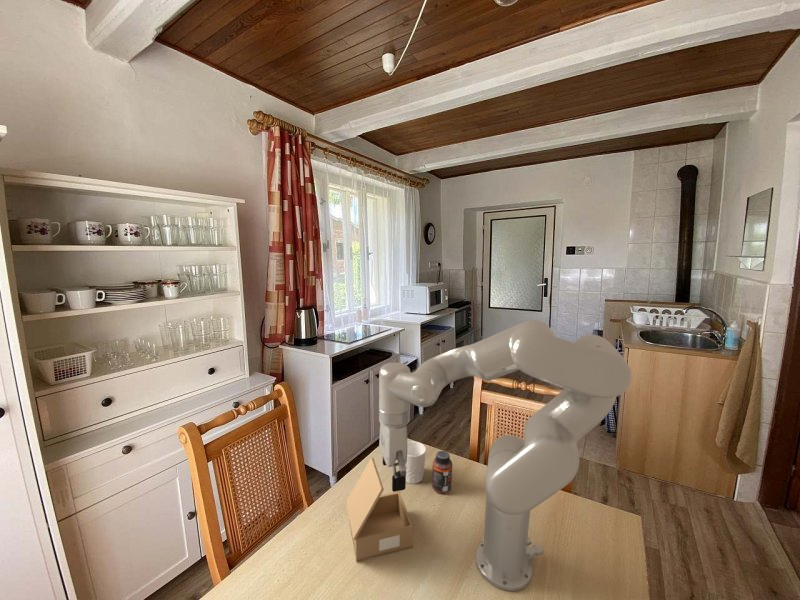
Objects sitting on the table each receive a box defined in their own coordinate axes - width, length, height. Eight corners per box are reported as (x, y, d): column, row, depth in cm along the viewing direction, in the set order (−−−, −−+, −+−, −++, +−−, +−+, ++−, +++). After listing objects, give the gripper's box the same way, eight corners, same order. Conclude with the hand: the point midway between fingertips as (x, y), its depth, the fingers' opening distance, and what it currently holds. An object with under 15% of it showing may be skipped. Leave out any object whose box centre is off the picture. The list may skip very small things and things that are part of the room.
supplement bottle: (450, 496, 101) (452, 462, 99) (430, 493, 102) (431, 459, 100) (451, 482, 106) (453, 449, 104) (432, 479, 107) (433, 447, 105)
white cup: (399, 469, 112) (399, 441, 110) (422, 467, 113) (423, 440, 111) (401, 486, 104) (402, 457, 103) (427, 484, 105) (428, 455, 103)
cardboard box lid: (373, 458, 90) (371, 457, 90) (383, 489, 79) (381, 488, 78) (348, 502, 90) (346, 501, 90) (355, 539, 79) (353, 539, 79)
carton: (399, 510, 95) (399, 491, 94) (412, 547, 84) (413, 526, 83) (349, 521, 91) (349, 502, 90) (356, 562, 80) (356, 540, 79)
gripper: (372, 399, 90) (372, 457, 93) (388, 435, 73) (387, 505, 76) (399, 396, 92) (398, 453, 95) (420, 431, 75) (418, 498, 79)
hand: (393, 476), depth 86 cm, fingers open, 9 cm apart
